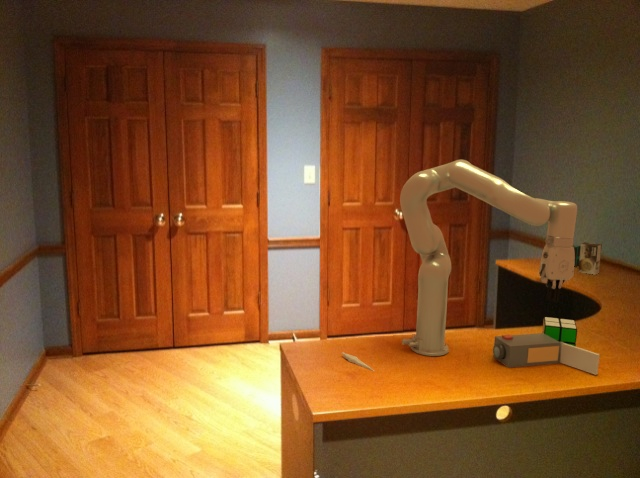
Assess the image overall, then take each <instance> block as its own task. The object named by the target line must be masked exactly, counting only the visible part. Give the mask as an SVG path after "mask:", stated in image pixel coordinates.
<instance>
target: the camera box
mask: <svg viewBox="0 0 640 478" xmlns="http://www.w3.org/2000/svg"><path fill="white" fill-rule="evenodd" d="M493 342H494V343H493V348H492V351H493V352H492V353H493V354H492V357H493V358H494V359H495V360H497V361H498V362H499V363H501V364H503V366H506V367H507V368H518V367H519V368H520V367H521V368H522V367H532V366H541V365H543V366H545V365H555V364H560V363H559V353H560V342H559V341H557V340H555V339H553V338H551V337H549V336H548V335H546V334H544V333H542V332H541V333H539V332H538V333H524V334H513V335H511V334H501V335H498V336H494V341H493Z"/></svg>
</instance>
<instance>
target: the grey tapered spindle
mask: <svg viewBox="0 0 640 478" xmlns="http://www.w3.org/2000/svg"><path fill="white" fill-rule="evenodd" d="M341 355H342V356H343V358H344V359H345V360H346V361H348V362H350V363H352V364H356V366H359V367H362V368H365V369H368V370H369V371H373V372H375V370H374V369H373V368H371V366H369V365H367V364H366V363H364V362H363V361H361V359H359V358H358V357H357V356H356V355H352V354H349V353H345V352H344V351H342V352H341Z"/></svg>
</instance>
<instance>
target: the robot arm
mask: <svg viewBox="0 0 640 478" xmlns="http://www.w3.org/2000/svg"><path fill="white" fill-rule="evenodd" d="M455 188H456V189H458V190H460V191H463V192H464V193H466V194H469V195H471V196H473V197H475V198H477V199H478V200H480V201H483V202H485V203H486V204H488V205H490V206H492V207H494V208H496V209H498V210H500V211H502V212H503V213H506V214H507V215H509V216H512V217H513V218H515V219H517V220H519V221H521V222H523V223H525V224H528V225H530V226H534V227H539V226H543V225H545V224H546V223H548V224H547V232H546V239H544V242H545V245H544V247H543V249H542V254H541V258H540V262H539V269H538V275H539V276H540V279H539V282H541V283H543V284H545V286H546V287H547V291H546V300H547V301H552V302H558V301H559V296H560V289H561V288H562V286H563V285H564V283H566V282H569V281H570V279H572V278H573V277H574V273H575V267H574V264H575V253H574V247H572V246H573V245H574V244H573V243H574V237H575V236H574V235H575V227H576V220H577V216H578V215H577V213H578V206H577V205H578V204H576V203H575V202H572V201H566V200H565V201H564V200H555V201H554V200H547V199H543V198H539V197H538V198H537V197H535V198H534V197H533V196H530V195H528V194H525V192H521V191H520V190H518V189H516V188H515V187H513V186H512V185H510V184H509V183H508V182H507V181H505V180H504V179H503V178H501V177H499V176H496V175H494V174H492V173H490V172H488V171H486V170H484V169H482V168H480V167H478V166H475V165H473V164H472V163H470V161H468V160H466V159H456V160H454V161H451V162H448V163H445V164H442V165H439V166H435V167H432V168H427V169H425V170H421V171H418V172H416V173H414V174H413V175H412V176H411V177H410V178H408V179H407V180H406V182H405V183H404V185H403V187H402V188H401V191H400V195H399V203H400V209H401V213H402V215H403V219H404V223H405V227H406V230H407V233H408V236H409V240H410V243H411V247H412V249H413V250H414V252H415V253H417V254H419V256H420V259H421V263H420V267H419V269H418V274H417V289H418V290H417V291H418V292H417V308H416V310H417V311H416V313H417V314H416V326H415V327H416V328H415V329H416V330H415V331H416V332H415V334H413V335H412V337H410V338H402V339H401V343H402V344H401V345H403V346H404V345H405V346H406V345H408V347H410V349H411V350H412V351H413V352H414V353H416V354H418V355H422V356H427V357H428V356H430V357H438V356H439V357H440V356H444V355H446V354H448V353H449V350H450V346H448V345H447V344H446V343H445V341H446V328H447V327H446V325H447V323H446V322H447V309H448V307H447V306H448V305H447V304H448V288H449V287H448V286H449V276H450V274H451V272H452V262H451V261H452V260H451V257H450V254H449V251H448V248H447V244H446V241H445V239H444V238H445V237H444V235H443V232H442V230H441V229H440V227H439V226H438V225H436V224H435V223H433V219H432V217H431V213H430V209H429V207H428V204H427V203H428V202H427V200H428V198H429V197H430V196H433V195H434V194H437V193H441V192H446V191H448V190H451V189H455Z"/></svg>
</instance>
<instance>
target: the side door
mask: <svg viewBox="0 0 640 478" xmlns="http://www.w3.org/2000/svg"><path fill="white" fill-rule="evenodd" d="M558 364H563V365H566V366H569V367H572V368H574V369H578V370H581V371H583V372H586V373H589V374H591V375H595V376H596V375H598V373H599V364H600V353H596V352H594V351H590V350H587V349H585V348H581V347H578V346H576V347H575V346H572V345H569V344H566V343H564V342H560V353H559V363H558Z"/></svg>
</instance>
